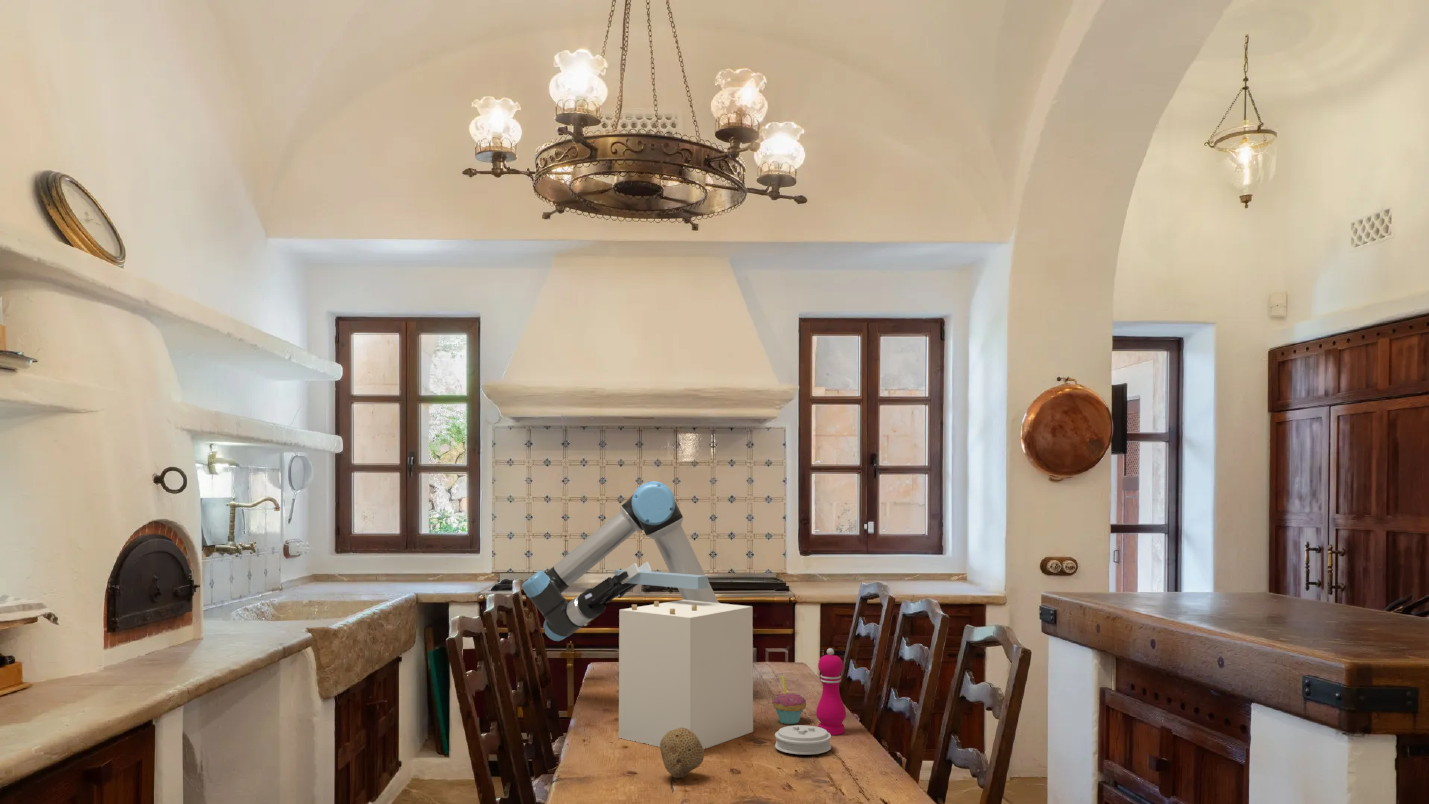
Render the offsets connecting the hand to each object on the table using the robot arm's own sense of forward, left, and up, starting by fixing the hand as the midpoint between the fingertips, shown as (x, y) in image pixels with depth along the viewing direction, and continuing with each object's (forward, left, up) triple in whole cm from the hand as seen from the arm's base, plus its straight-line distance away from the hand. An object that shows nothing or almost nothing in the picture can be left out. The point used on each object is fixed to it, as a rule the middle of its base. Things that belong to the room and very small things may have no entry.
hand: (643, 567), depth 251 cm
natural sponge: (-6, +51, -39) cm, 64 cm away
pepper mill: (-45, +20, -38) cm, 62 cm away
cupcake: (-37, +9, -38) cm, 54 cm away
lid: (-35, +34, -39) cm, 62 cm away
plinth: (-10, +18, -38) cm, 43 cm away
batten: (-4, +4, -4) cm, 7 cm away
